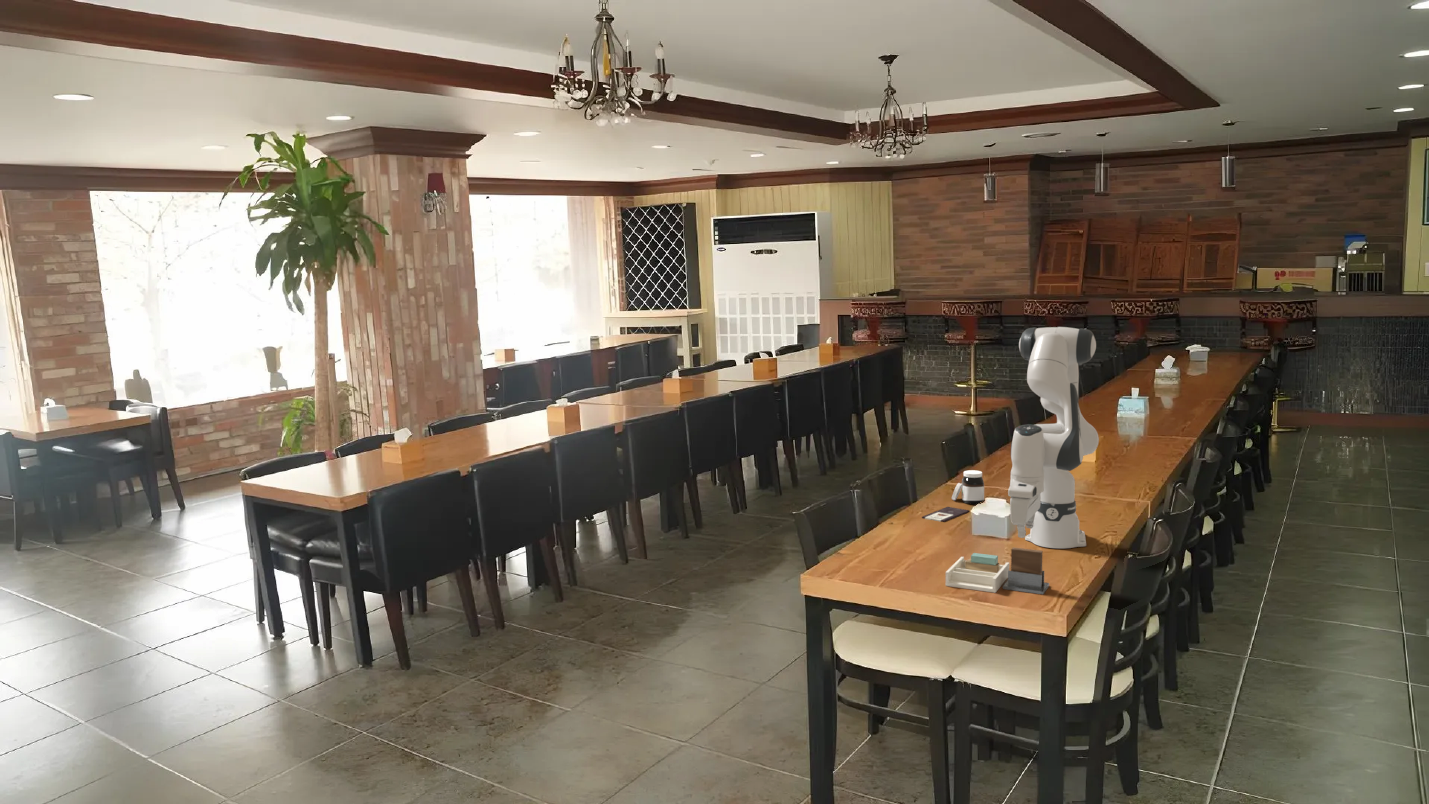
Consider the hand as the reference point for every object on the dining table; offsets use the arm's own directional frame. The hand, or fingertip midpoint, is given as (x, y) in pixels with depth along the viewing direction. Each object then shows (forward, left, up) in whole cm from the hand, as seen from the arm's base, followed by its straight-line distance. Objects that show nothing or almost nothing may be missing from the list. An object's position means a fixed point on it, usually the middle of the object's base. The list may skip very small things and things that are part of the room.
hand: (1025, 532), depth 269 cm
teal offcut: (-5, -13, -12) cm, 18 cm away
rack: (0, -13, -16) cm, 20 cm away
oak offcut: (-5, -13, -15) cm, 20 cm away
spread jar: (-89, -41, -16) cm, 99 cm away
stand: (0, 0, -16) cm, 16 cm away
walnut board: (0, 0, -15) cm, 15 cm away
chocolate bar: (-67, -42, -16) cm, 81 cm away
